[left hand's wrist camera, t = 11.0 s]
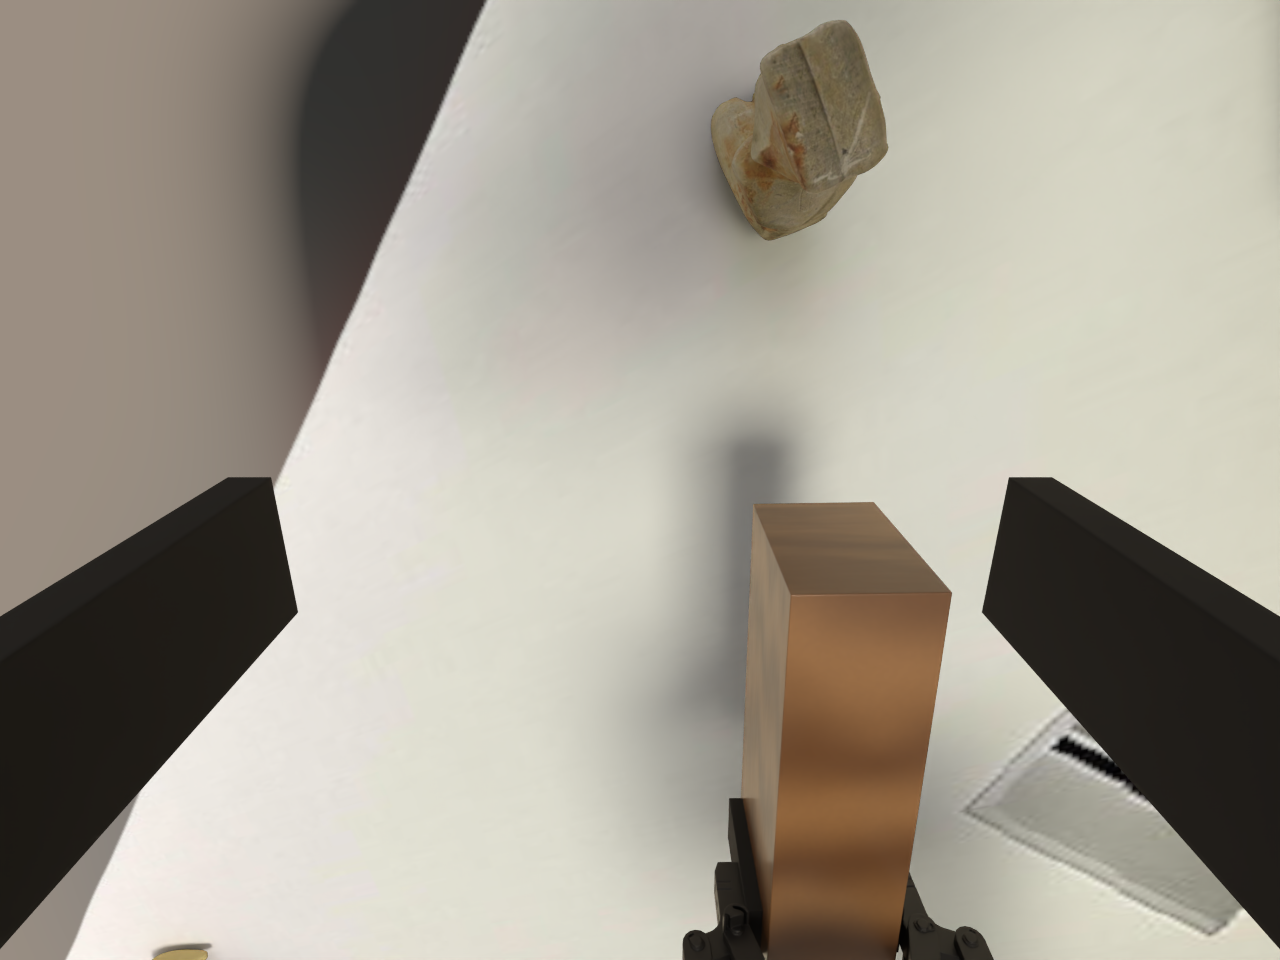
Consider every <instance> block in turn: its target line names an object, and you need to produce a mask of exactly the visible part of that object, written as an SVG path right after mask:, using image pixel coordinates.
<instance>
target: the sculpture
mask: <svg viewBox="0 0 1280 960" xmlns="http://www.w3.org/2000/svg"><path fill="white" fill-rule="evenodd" d="M760 70H761V74H760V76H759V78H758V80H757V82H756V86H755V93H754V94H753V98H752V101H751V102H745V101H743V100H741V99H739V98H737V97H736V98H733V99H730V100H728V101H726V102H724V103H722V104H721V105H720V106H719V107H718V108H717V109H716V111H715V113H714V115H713V117H712V121H711V134H712V140H713V144H714V148H715V151H716V154H717V157H718V160H719V163H720V166H721V168H722V170H723V172H724V175H725V177H726V179H727V181H728V183H729V185H730V187H731V189H732V191H733V193H734V195H735V198H736V200H737V201H738V203H739V205H740V207H741V209H742V211H743V213H744V215H745V217H746V218H747V220H748V222H749V223H750V224H751V226H752V227H753V228H754V229H755V230H756V231H757V233H758V234H759V235H760V236H761V237H762V238H764V239H765V240H774V239H777V238H780V237H783V236H786V235H789V234H792V233H794V232H797V231H799V230H801V229H804V228H806V227H808V226H811V225H813V224H815V223H817V222H819V221H821V220H822V219H824V218H825V217H826V215H827V212H828V211H829V210H830V209H831V208H832V207H833V206H834V205H835V204H836V203H837V202H838V201H839V199H840V198H841V197H842V196H843V195H844V193H845V192H846V191H847V190H848V189H849V187H850V186H851V185H852V183H853V182H854V180H855V179H856V177H857V175H859V174H862V173H864V172H866V171H868V170H870V169H871V168H873V167H874V166H876V165H877V164H878V163H879V162H880V160H881V159H882V158H883V157H884V156H885V154H886V153H887V151H888V145H887V139H886V124H885V118H884V114H883V109H882V106H881V102H880V95H879V93H878V91H877V90H876V87H875V84H874V81H873V78H872V76H871V72H870V69H869V66H868V62H867V59H866V56H865V52H864V49H863V46H862V44H861V41H860V39H859V37H858V35H857V33H856V32H855V30H854V29H853V28H852V26H851V25H850V24H849V23H848V22H847V21H845V20H836V21H830V22H826V23H824V24H821V25H819V26H818V27H816V28H815V29H814V30H812V31H811V32H810V33H808V34H806V35H805V36H803V37H801V38H799V39H796V40H794V41H791V42H789V43H787V44H782V45H780V46H778V47H777V48H776V49H774V50H773V51H771V52H770V53H768V54H767V55H766V56H765V57H764V58H763V59H762V61H761V63H760Z"/></svg>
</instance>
